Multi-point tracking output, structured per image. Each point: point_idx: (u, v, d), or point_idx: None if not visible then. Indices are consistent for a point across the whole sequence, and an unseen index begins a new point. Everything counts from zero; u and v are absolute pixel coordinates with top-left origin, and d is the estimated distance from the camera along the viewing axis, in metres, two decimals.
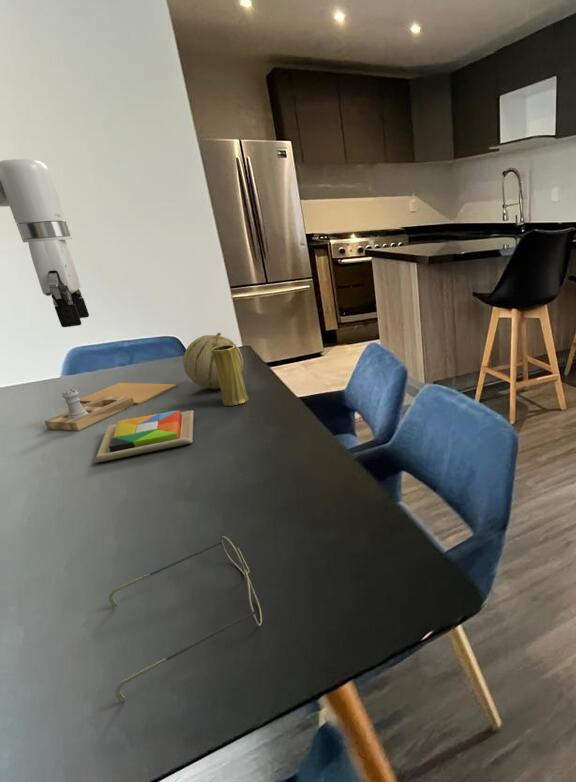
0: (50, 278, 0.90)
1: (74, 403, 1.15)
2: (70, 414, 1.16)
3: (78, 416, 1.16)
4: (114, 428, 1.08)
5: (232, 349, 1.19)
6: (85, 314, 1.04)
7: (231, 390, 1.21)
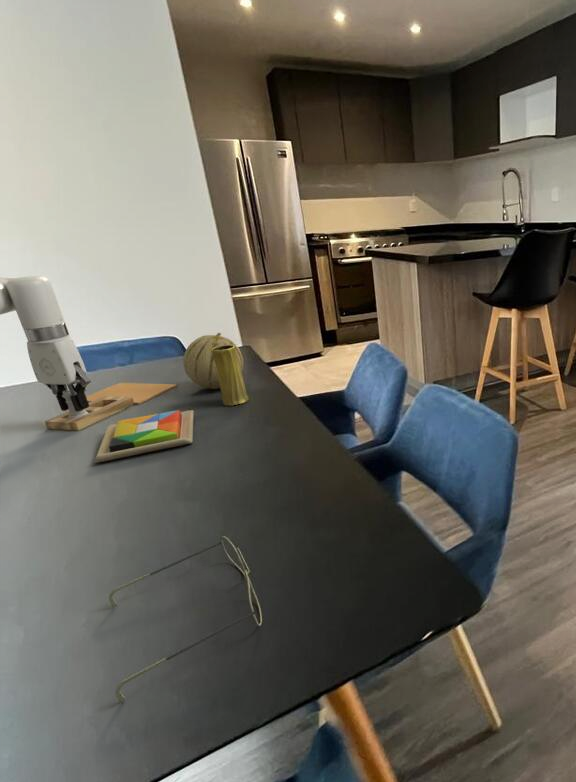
0: (81, 374, 1.12)
1: None
2: (70, 414, 1.16)
3: (78, 416, 1.16)
4: (114, 428, 1.08)
5: (232, 349, 1.19)
6: None
7: (231, 389, 1.21)
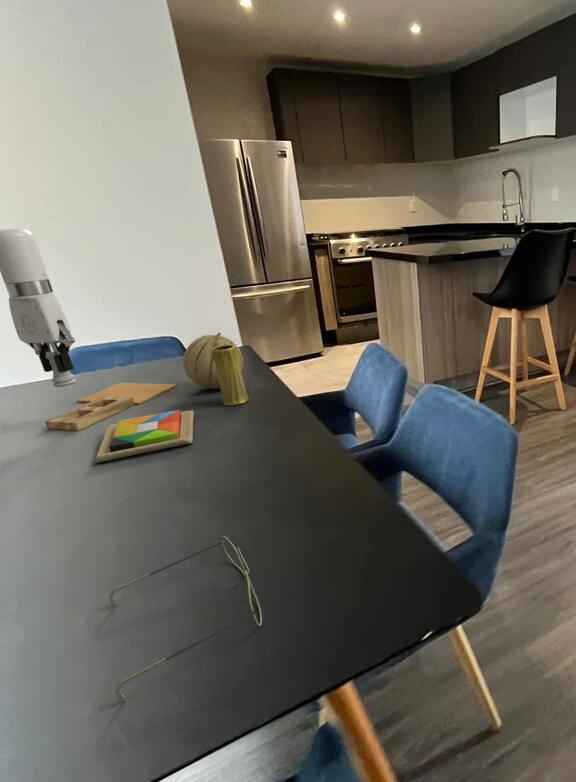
0: (64, 333, 1.08)
1: None
2: (54, 376, 1.12)
3: (62, 378, 1.12)
4: (114, 428, 1.08)
5: (232, 349, 1.19)
6: None
7: (231, 390, 1.21)
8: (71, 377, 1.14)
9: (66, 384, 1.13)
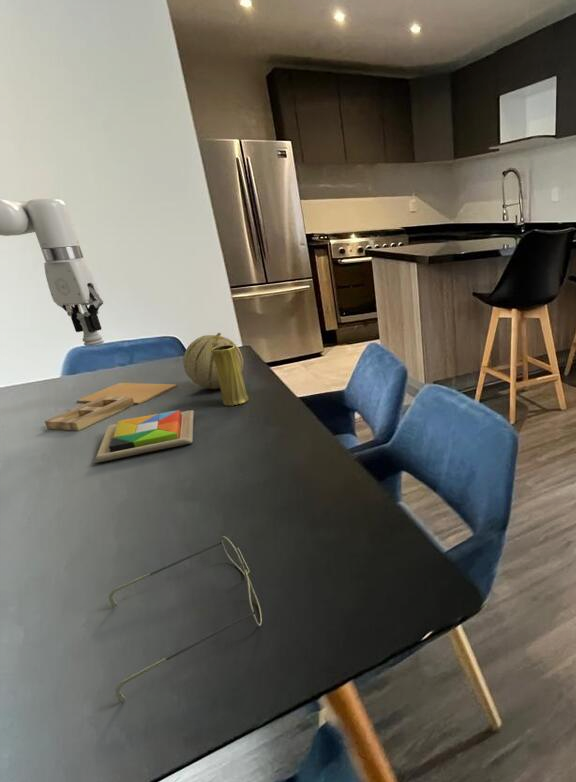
0: (94, 295, 1.19)
1: None
2: (84, 335, 1.23)
3: (92, 337, 1.23)
4: (114, 428, 1.08)
5: (232, 349, 1.19)
6: None
7: (231, 389, 1.21)
8: (99, 337, 1.25)
9: (95, 343, 1.24)
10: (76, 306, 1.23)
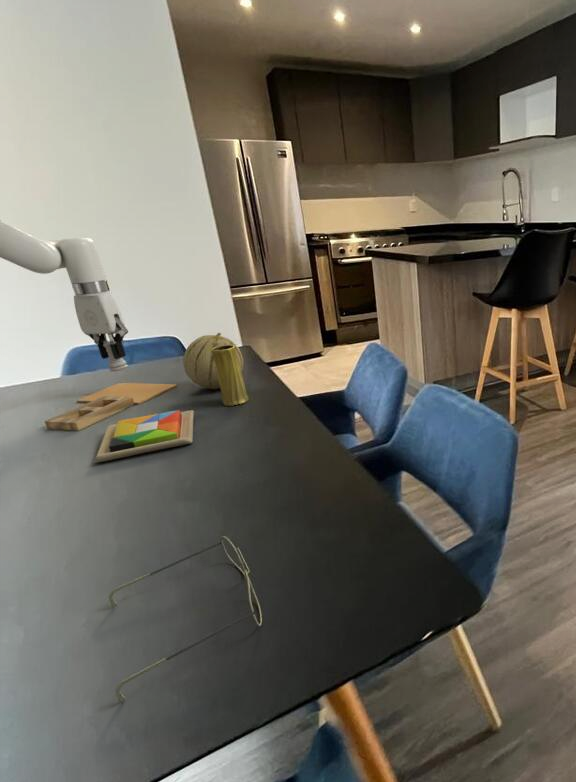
0: (120, 325, 1.28)
1: None
2: (110, 361, 1.32)
3: (117, 363, 1.32)
4: (114, 428, 1.08)
5: (232, 349, 1.19)
6: None
7: (231, 390, 1.21)
8: (124, 363, 1.34)
9: (120, 369, 1.33)
10: (102, 334, 1.32)
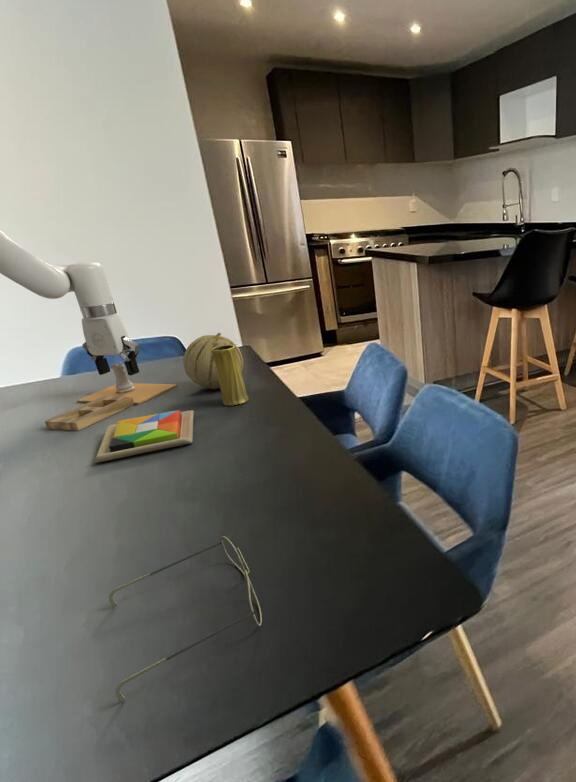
0: (128, 341, 1.30)
1: (121, 373, 1.34)
2: (117, 383, 1.35)
3: (124, 385, 1.35)
4: (114, 428, 1.08)
5: (232, 349, 1.19)
6: (109, 369, 1.37)
7: (231, 390, 1.21)
8: (131, 385, 1.36)
9: (127, 391, 1.35)
10: None
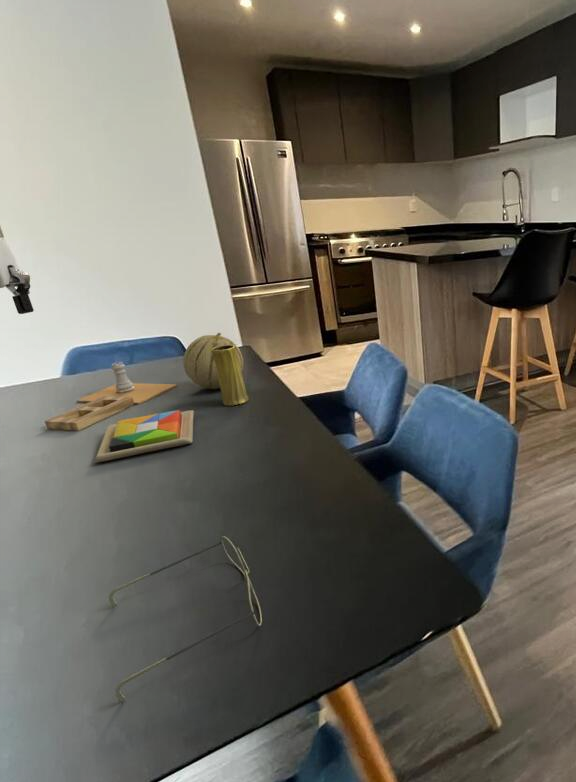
0: (16, 271, 1.08)
1: (121, 373, 1.34)
2: (117, 383, 1.35)
3: (124, 385, 1.35)
4: (114, 428, 1.08)
5: (232, 349, 1.19)
6: None
7: (231, 390, 1.21)
8: (131, 385, 1.36)
9: (127, 391, 1.35)
10: None
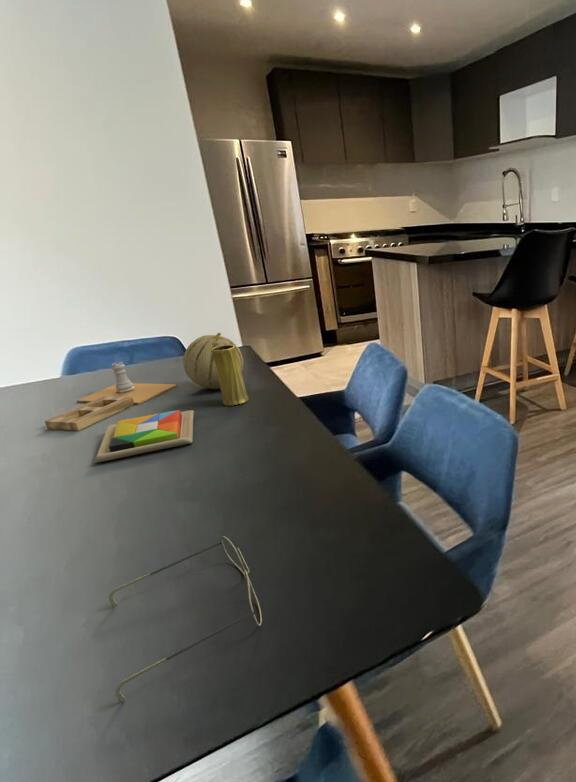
0: None
1: (121, 373, 1.34)
2: (117, 383, 1.35)
3: (124, 385, 1.35)
4: (114, 428, 1.08)
5: (232, 349, 1.19)
6: None
7: (231, 389, 1.21)
8: (131, 385, 1.36)
9: (127, 391, 1.35)
10: None
